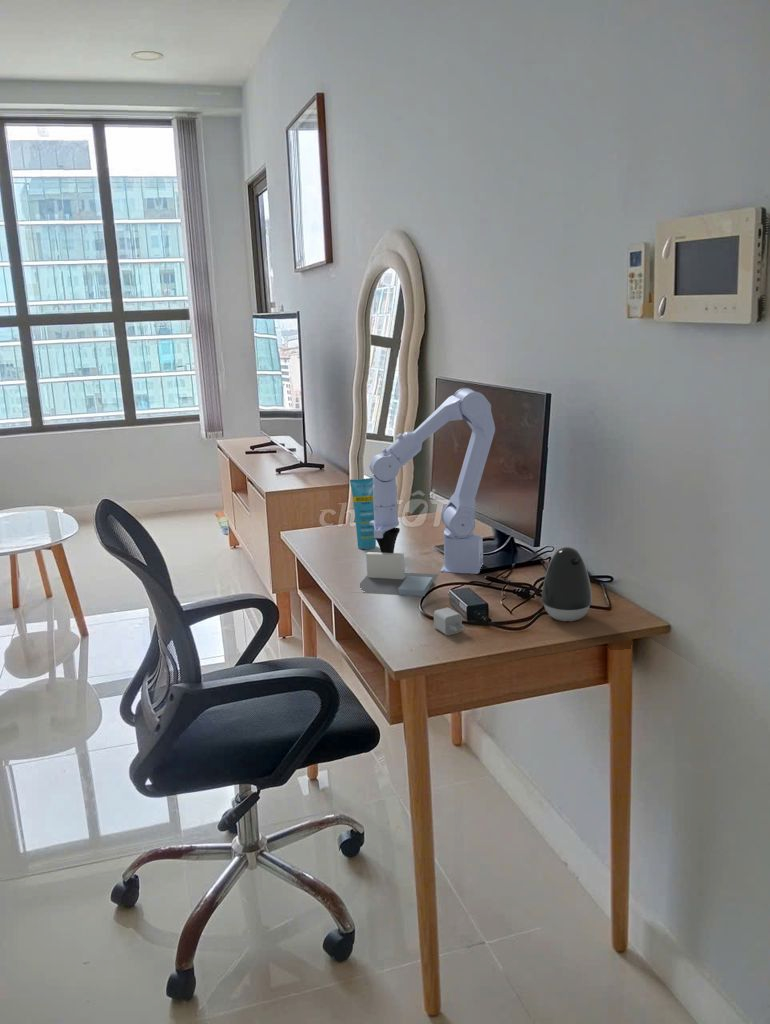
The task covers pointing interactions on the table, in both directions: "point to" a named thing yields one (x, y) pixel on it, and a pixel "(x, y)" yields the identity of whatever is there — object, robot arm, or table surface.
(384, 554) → the cream board
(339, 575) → the table surface
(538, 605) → the table surface
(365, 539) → the tube
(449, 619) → the usb wall charger
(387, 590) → the mat
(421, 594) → the slate board
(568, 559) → the grey egg shaped device
